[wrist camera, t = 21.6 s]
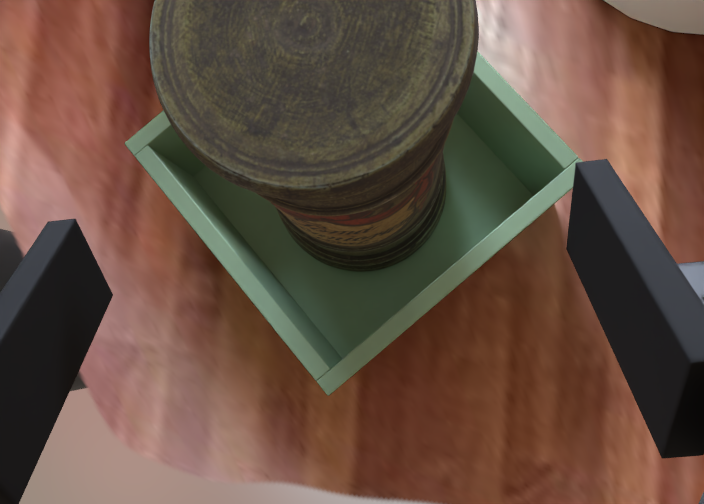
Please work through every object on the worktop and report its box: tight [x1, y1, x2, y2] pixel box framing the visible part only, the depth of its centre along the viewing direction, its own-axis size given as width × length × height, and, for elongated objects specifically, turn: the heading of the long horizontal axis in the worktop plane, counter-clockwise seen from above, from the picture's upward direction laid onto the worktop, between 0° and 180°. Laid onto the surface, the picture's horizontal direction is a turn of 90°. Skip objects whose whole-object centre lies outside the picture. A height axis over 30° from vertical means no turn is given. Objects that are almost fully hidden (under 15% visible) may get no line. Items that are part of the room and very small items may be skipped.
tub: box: [125, 51, 583, 396], centre depth 30 cm, size 15×15×7 cm
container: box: [149, 0, 479, 272], centre depth 24 cm, size 9×9×18 cm
